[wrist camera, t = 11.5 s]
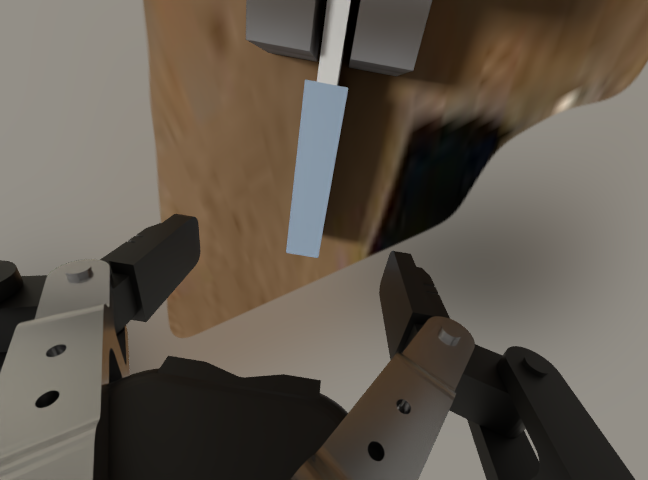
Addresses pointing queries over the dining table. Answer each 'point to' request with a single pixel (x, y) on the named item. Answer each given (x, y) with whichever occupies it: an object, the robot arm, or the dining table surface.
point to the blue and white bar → (319, 136)
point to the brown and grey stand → (369, 38)
